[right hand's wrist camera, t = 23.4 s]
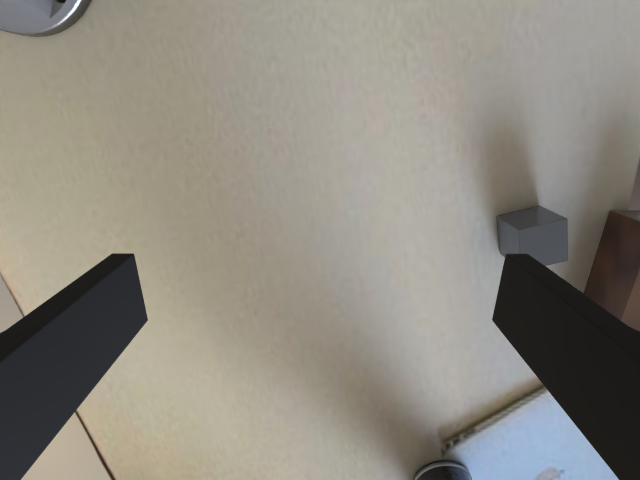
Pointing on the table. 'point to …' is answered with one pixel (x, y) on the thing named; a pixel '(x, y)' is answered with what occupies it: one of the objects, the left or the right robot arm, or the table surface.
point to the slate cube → (534, 235)
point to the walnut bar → (618, 268)
